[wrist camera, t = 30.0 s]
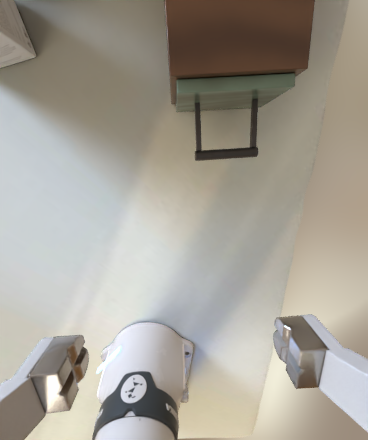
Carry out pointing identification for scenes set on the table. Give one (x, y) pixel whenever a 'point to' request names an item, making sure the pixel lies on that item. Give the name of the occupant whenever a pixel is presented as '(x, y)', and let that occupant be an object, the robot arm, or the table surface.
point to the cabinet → (236, 37)
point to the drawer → (229, 103)
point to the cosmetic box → (13, 36)
